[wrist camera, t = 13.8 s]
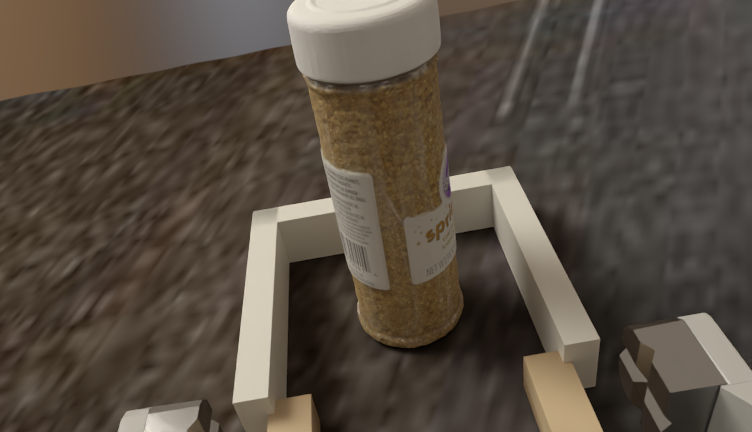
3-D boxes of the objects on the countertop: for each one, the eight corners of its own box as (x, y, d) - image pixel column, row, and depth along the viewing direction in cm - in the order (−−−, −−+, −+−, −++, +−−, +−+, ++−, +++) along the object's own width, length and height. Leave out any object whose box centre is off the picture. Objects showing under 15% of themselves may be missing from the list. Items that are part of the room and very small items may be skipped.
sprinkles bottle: (478, 337, 25) (454, -1, 17) (366, 364, 24) (287, 33, 16) (447, 264, 28) (416, -42, 20) (350, 287, 28) (279, -14, 20)
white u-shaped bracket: (595, 386, 22) (600, 339, 21) (252, 446, 22) (232, 403, 21) (511, 208, 31) (510, 165, 29) (266, 251, 31) (253, 211, 30)
